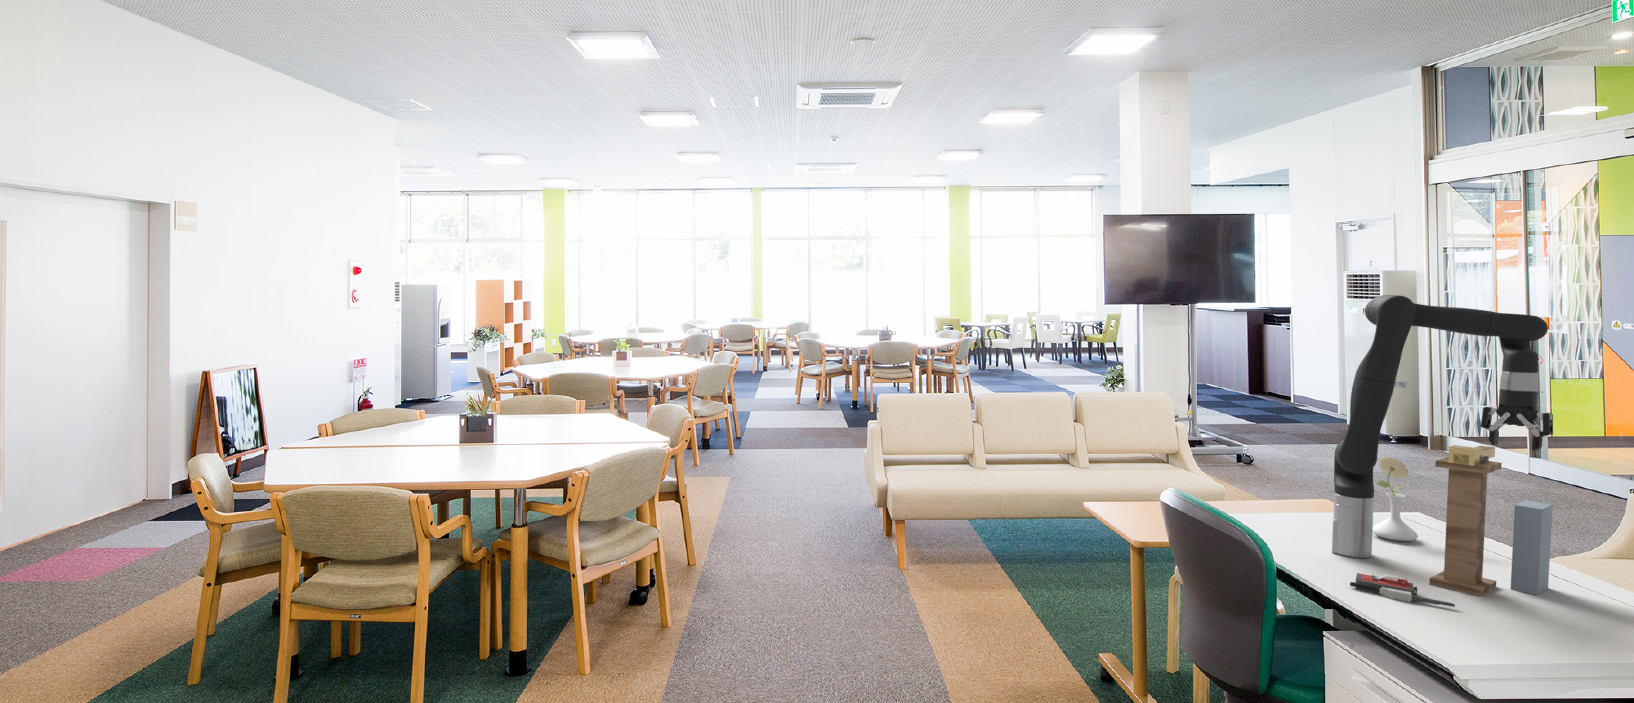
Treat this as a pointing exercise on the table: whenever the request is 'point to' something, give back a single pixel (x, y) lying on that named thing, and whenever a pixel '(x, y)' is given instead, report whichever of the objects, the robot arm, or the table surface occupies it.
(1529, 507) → the grey rectangular pillar
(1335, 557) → the table surface
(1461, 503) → the brown wooden pedestal
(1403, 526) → the flower in vase
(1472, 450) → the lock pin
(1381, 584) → the red long two-tone device
